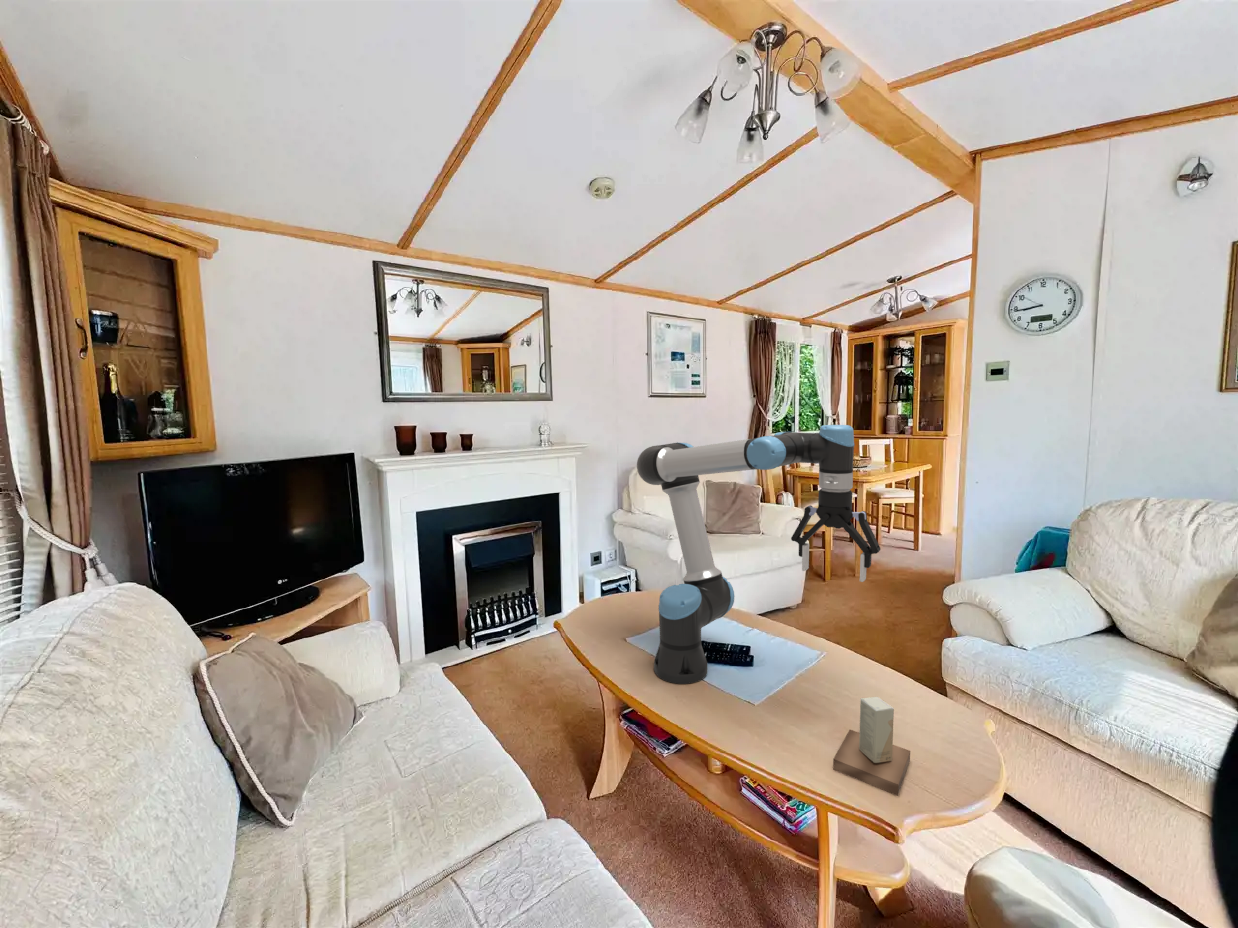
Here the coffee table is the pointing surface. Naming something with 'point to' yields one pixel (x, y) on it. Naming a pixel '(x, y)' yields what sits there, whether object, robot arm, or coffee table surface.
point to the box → (876, 729)
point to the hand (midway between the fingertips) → (833, 574)
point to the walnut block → (871, 765)
